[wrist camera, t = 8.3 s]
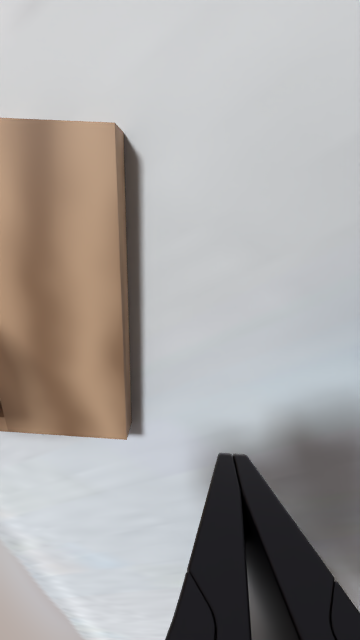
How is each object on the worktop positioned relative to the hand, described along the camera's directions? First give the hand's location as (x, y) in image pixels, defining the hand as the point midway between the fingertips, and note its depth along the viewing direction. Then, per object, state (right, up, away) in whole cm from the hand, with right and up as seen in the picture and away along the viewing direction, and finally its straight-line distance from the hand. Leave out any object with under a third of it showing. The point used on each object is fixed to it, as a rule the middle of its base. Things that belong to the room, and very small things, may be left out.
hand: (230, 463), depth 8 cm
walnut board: (-13, +6, +12) cm, 19 cm away
